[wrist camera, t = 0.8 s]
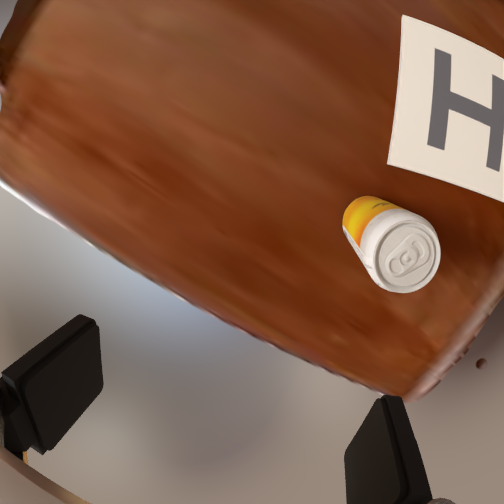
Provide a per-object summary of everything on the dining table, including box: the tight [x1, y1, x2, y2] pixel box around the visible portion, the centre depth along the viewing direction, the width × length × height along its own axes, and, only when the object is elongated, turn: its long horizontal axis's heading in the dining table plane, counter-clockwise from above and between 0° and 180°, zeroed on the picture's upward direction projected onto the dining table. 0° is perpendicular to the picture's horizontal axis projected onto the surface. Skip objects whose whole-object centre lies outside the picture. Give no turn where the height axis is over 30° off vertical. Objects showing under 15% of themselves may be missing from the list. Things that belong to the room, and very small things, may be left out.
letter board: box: [387, 15, 504, 203], centre depth 28 cm, size 20×20×1 cm
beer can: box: [343, 196, 441, 293], centre depth 27 cm, size 6×6×15 cm
